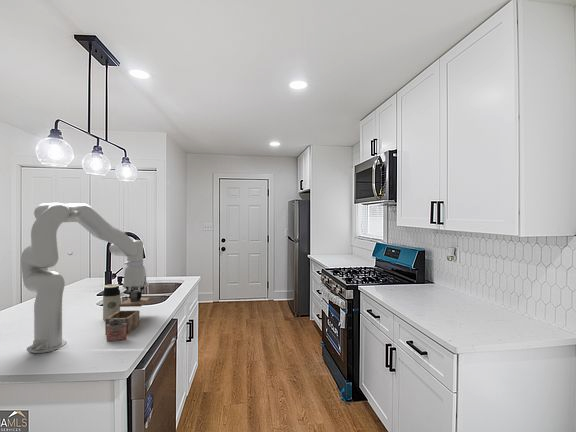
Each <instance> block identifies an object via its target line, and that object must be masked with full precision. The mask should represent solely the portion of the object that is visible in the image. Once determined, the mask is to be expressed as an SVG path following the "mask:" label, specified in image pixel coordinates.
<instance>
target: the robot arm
mask: <svg viewBox="0 0 576 432" xmlns="http://www.w3.org/2000/svg"><path fill="white" fill-rule="evenodd" d="M33 212H34V213H33V215H34V217H35V220H34V222H33V224H32V226H31V229H30V230H31V231H30V243H31V245H28V246H27V247H26V248H24V250H23V251H22V253H21V256H20V266H21V274H22V281H23V285H24V287H25V288H26V290H28V291H30V292H33V293H36V296H35V299H34V304H33V305H34V306H33V314H34V315H33V316H34V317H33V325H34V326H33V327H34V329H33V330H34V331H33V333H34V334H33V340H32V344H31V345H30V346H28V347H26V351H27V352H29V353H32V354H44V353H45V354H46V353H50V352H54V351H55V352H56V351H58V350H59V348H62V347H65V345H67V340H65V339H63V295H64V289H65V279H64V277H63V275H62V274H61V273H59V272H57V271H53V270H49V269H50V268H52V267H55V266H56V265H57V264H58V262H59V249H58V241H57V234H58V229H59V227H60V226H61V225H62V224H63V223H78V224H79V225H80V226H81V227H82V228H84V229H85V230H86V231H87V232H89V233H90V234H91V235H92V236H93V237H94V238H97V239H98V240H102V241H104V242H108V243H110V245H109V252H110V253H111V254H112V255H114V256H118V257H126V259H127V260H126V261H124V265H126V266H125V269H124V273H123V275H124V276H123V284H122V288H124V289H125V290H127V292H128V294H129V298H130V300H131V292H132V291H134V287H137V290H138V292H137V300H139V299H141V298H142V297H143V296H142V295H143V294H142V292H143V290H145V289H146V288H148V287H149V284H148V283H149V282H148V281H147V273H146V272H147V271H146V268H145V265H144V242H143V240H141V239H132V238H131V237H130V236H129V235H128V234H126V233H125V232H124V231H122V230H120V229H119V228H117V227H116V226H114V225H112V224H111V223H109V222H108V221H107V220H106V219H104V218H103V217H102V216H101V214H100V213H98V212H97V211H96V210H95V209H94V208H93V207H92V206H90V205H89V204H87V203H62V202H49V203H47V202H46V203H40V204H39V205H37V206H36V207H35V209H34V211H33ZM129 298H128V299H129Z"/></svg>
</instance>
